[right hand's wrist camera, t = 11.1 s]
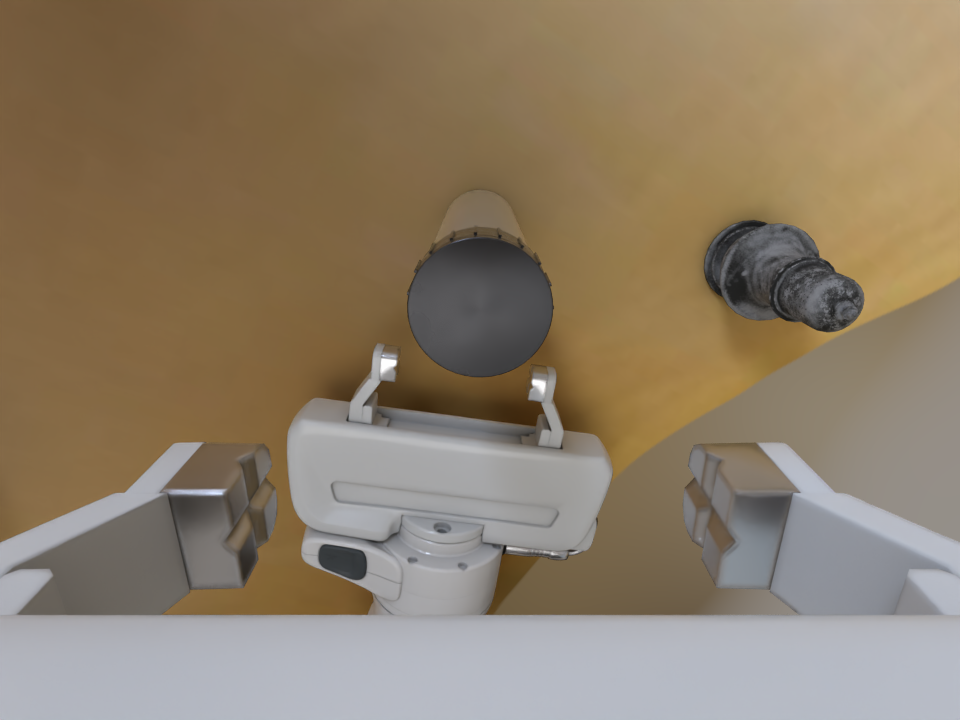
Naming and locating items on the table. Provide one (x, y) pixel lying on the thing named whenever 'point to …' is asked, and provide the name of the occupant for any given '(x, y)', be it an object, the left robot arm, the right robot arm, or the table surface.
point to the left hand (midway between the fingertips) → (466, 358)
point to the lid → (480, 302)
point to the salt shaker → (780, 277)
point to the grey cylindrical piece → (480, 214)
